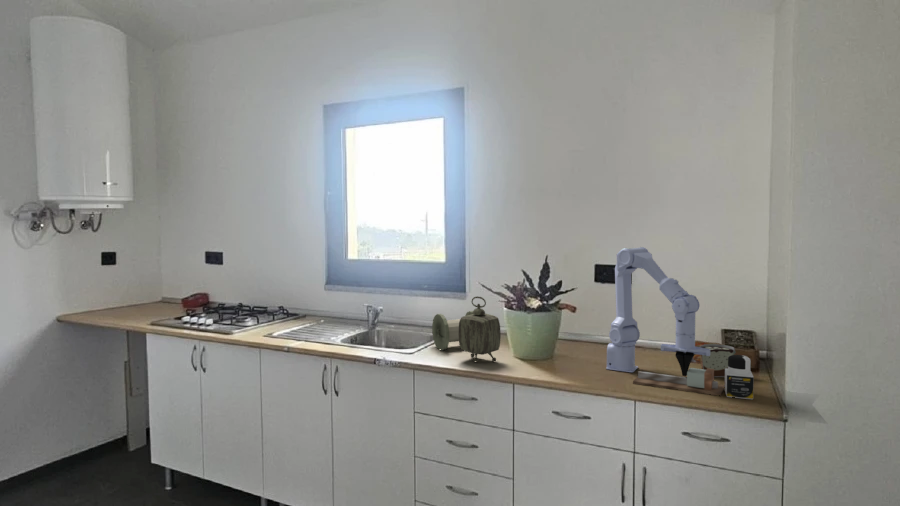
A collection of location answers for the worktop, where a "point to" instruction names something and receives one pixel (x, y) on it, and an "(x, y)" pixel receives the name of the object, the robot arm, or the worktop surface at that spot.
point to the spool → (445, 330)
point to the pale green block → (695, 377)
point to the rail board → (680, 382)
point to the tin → (697, 344)
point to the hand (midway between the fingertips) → (684, 375)
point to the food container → (717, 358)
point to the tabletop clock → (479, 332)
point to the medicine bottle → (739, 377)
